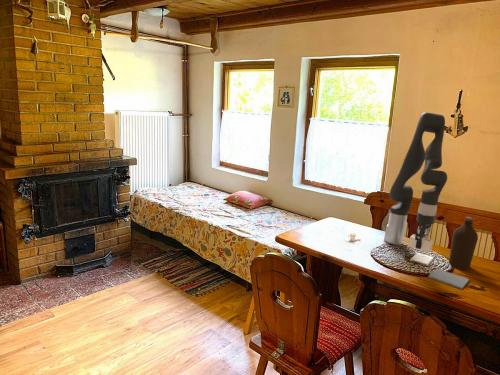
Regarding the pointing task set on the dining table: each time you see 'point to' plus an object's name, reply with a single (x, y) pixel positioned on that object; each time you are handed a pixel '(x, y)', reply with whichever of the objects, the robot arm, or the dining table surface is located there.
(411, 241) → the block
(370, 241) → the dining table surface
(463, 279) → the mat
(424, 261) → the external hard drive
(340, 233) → the dining table surface
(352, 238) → the teacup and saucer
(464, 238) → the olive oil
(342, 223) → the dining table surface
